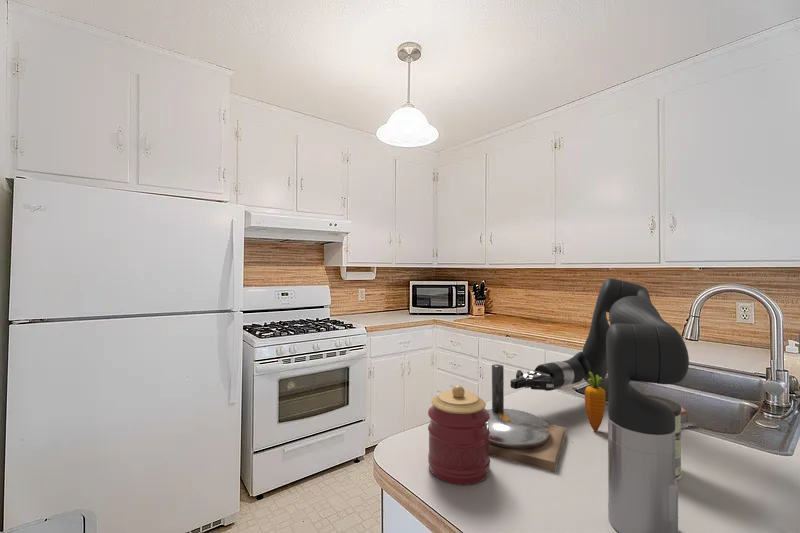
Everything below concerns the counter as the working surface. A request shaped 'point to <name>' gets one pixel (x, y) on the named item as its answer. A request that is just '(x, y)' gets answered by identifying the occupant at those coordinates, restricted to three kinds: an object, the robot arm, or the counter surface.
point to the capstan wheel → (512, 420)
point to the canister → (459, 437)
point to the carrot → (595, 402)
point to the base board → (535, 451)
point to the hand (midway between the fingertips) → (512, 384)
